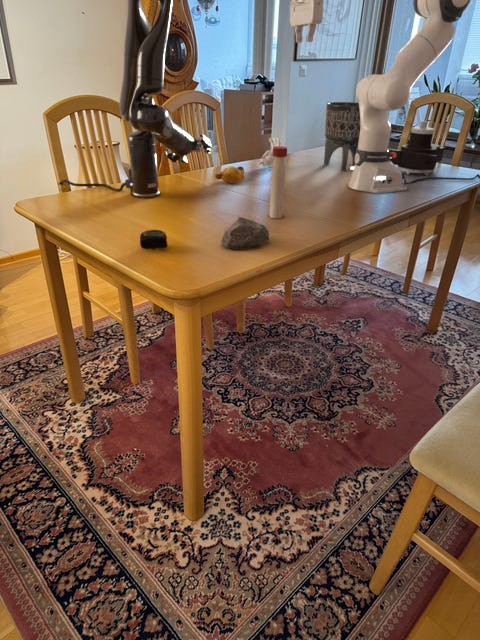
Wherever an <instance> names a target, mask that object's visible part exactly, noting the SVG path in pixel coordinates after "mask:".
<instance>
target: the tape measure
mask: <svg viewBox="0 0 480 640" xmlns="http://www.w3.org/2000/svg"><path fill="white" fill-rule="evenodd" d="M167 236H168V235H167V234H166V232H165V231H164V230H161V229H147V230H144V231H143V232H141V233H140V235H139V240H140V241H139V245H140V246H139V247H141V248H142V249H146V250H157V249H167V248H168V240H167V239H168V237H167Z"/></svg>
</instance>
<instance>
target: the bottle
mask: <svg viewBox="0 0 480 640" xmlns="http://www.w3.org/2000/svg"><path fill="white" fill-rule="evenodd" d="M286 165H287V164H286V159H285V157H275V159H274V162H273V166H272V168H271V179H270V180H271V181H270V200H269V218H271V219H282V218H283V217H284V216H283V215H284V204H285V203H284V202H285V190H286V189H285V187H286V171H287V166H286Z"/></svg>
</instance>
